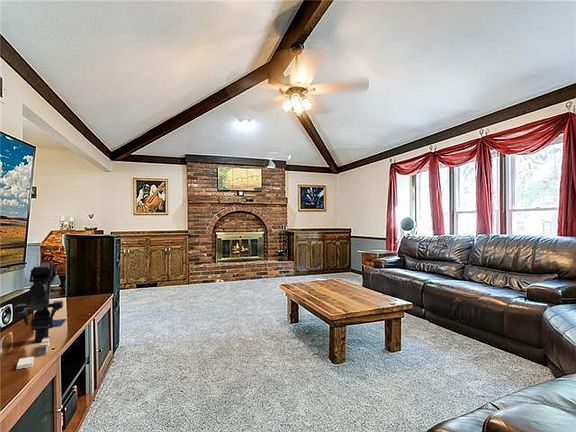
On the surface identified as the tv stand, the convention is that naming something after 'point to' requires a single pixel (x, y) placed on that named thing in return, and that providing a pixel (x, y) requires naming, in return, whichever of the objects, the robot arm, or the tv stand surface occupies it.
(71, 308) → the tv stand surface
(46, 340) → the curved white panel
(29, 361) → the tile
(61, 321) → the smartphone
